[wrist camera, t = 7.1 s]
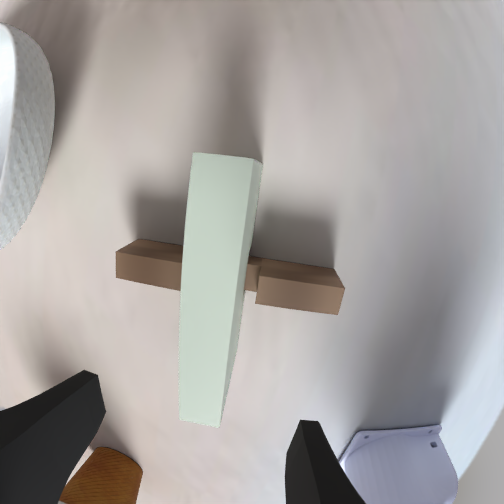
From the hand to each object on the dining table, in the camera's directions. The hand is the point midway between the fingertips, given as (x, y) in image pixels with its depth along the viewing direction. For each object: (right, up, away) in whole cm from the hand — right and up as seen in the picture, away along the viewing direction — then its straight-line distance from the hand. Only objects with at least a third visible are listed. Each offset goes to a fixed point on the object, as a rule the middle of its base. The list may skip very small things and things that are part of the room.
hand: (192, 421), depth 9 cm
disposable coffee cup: (-14, -19, +17) cm, 29 cm away
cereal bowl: (-17, +15, +8) cm, 24 cm away
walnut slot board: (+1, +5, +9) cm, 10 cm away
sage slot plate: (+1, +5, +9) cm, 10 cm away
